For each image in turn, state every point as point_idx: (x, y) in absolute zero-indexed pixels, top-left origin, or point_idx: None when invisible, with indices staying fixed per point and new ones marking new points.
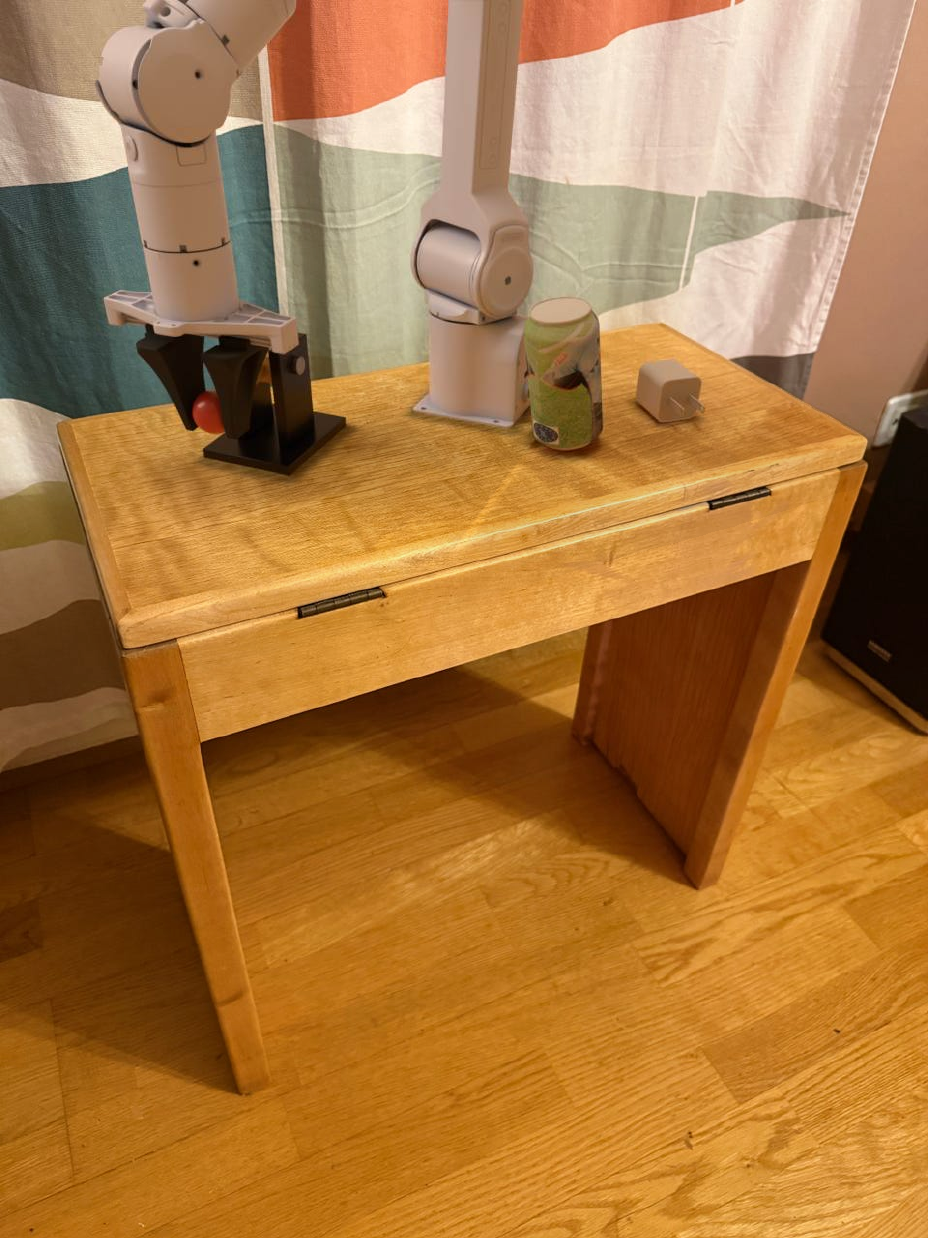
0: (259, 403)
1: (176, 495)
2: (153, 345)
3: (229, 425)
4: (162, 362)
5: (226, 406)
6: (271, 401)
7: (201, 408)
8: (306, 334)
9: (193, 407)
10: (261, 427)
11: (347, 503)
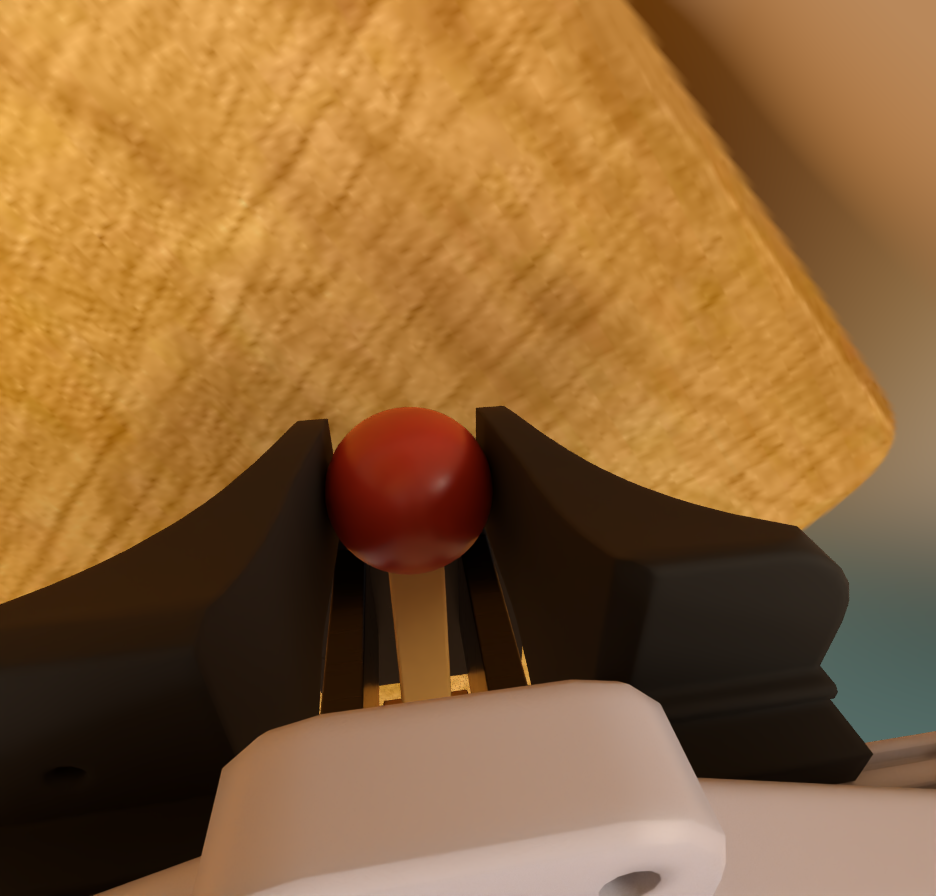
0: (468, 640)
1: (495, 272)
2: (708, 609)
3: (288, 438)
4: (604, 529)
5: (260, 478)
6: (466, 662)
7: (410, 451)
8: None
9: (464, 455)
10: (458, 589)
11: (54, 434)
